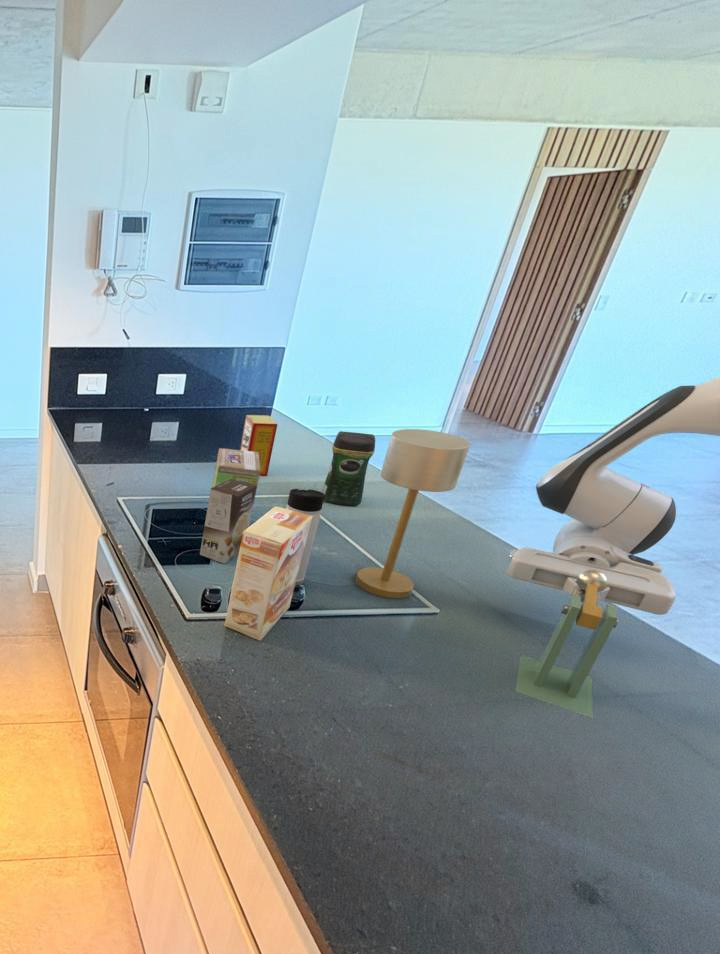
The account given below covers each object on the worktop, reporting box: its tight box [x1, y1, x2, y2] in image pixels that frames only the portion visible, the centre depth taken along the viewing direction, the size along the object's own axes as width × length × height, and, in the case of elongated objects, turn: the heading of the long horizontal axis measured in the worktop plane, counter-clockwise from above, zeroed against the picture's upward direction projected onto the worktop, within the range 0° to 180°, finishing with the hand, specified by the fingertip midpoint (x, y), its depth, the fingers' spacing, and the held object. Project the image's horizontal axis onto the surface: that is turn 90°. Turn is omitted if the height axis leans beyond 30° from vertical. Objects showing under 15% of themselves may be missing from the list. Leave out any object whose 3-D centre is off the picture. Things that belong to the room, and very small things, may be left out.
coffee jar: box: [321, 430, 376, 506], centre depth 160 cm, size 10×8×19 cm
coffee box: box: [199, 479, 258, 565], centre depth 134 cm, size 9×6×16 cm
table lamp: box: [355, 428, 471, 599], centre depth 118 cm, size 12×12×31 cm
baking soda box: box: [239, 414, 278, 477], centre depth 182 cm, size 10×6×16 cm
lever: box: [575, 570, 608, 631], centre depth 93 cm, size 13×4×4 cm, turn 140°
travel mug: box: [285, 488, 325, 586], centre depth 123 cm, size 6×7×20 cm
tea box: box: [211, 447, 261, 488], centre depth 155 cm, size 15×10×15 cm
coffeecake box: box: [224, 505, 313, 641], centre depth 111 cm, size 15×7×20 cm, turn 137°
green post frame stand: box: [515, 594, 620, 719], centre depth 93 cm, size 12×9×16 cm
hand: (585, 598), depth 97 cm, fingers closed, pressing on lever
